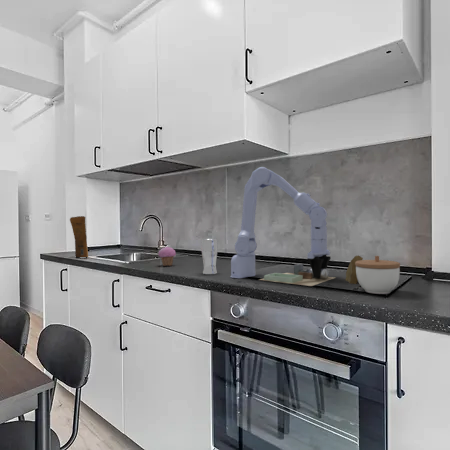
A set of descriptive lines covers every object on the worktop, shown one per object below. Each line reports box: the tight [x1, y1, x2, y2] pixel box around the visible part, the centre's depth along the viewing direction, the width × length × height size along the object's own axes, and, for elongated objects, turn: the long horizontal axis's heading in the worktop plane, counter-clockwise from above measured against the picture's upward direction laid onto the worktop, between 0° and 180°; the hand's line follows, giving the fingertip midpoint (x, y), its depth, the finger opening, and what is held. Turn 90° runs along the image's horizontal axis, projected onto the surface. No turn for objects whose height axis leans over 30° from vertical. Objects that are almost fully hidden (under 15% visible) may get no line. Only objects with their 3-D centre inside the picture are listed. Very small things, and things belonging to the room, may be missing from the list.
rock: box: [345, 254, 364, 285], centre depth 117 cm, size 11×9×10 cm
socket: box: [298, 272, 312, 279], centre depth 126 cm, size 5×7×2 cm
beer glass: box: [200, 238, 218, 275], centre depth 147 cm, size 7×7×15 cm
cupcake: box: [158, 246, 177, 267], centre depth 175 cm, size 9×9×10 cm
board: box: [258, 272, 337, 287], centre depth 124 cm, size 21×20×1 cm
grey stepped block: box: [293, 263, 307, 275], centre depth 127 cm, size 5×4×4 cm
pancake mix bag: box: [69, 215, 89, 258], centre depth 226 cm, size 7×19×28 cm, turn 46°
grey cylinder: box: [305, 267, 329, 279], centre depth 123 cm, size 7×4×4 cm, turn 49°
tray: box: [263, 272, 303, 284], centre depth 122 cm, size 12×8×2 cm, turn 49°
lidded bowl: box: [355, 255, 401, 295], centre depth 104 cm, size 13×13×11 cm
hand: (319, 276), depth 123 cm, fingers closed on grey cylinder, 4 cm apart
